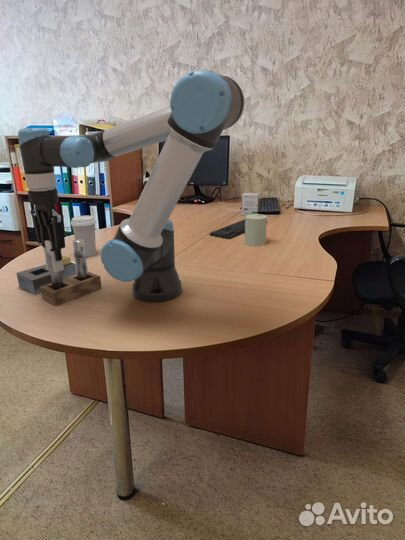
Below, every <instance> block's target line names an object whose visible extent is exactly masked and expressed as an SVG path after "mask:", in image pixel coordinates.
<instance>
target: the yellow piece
mask: <svg viewBox="0 0 405 540" xmlns="http://www.w3.org/2000/svg"><path fill="white" fill-rule="evenodd" d="M62 261H63V267H64V266H67V265H70V264H71V261H72V260H71V257H69V256H67V255H62Z"/></svg>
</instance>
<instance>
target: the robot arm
mask: <svg viewBox="0 0 405 540" xmlns="http://www.w3.org/2000/svg"><path fill="white" fill-rule="evenodd" d="M244 96H245V95H244V92H243V90H242V88H241V86H240V85H239V83H238V82H237V81H235V80H234V79H233V78H231V77H229V76H226V75H222V74H219V73H218V72H215V71H213V70H208V69H206V70H205V69H202V70H201V69H200V70H193V71H190V72H188V73H186V74H185V75H183V76H182V77H181V78H180V79H178V80H177V82H176V83H175V85H174V86H173V89H172V92H171V95H170V100H169V106H167V107H164V108H161V109H158V110H156V111H153V112H150V113H148V114H145V115H142V116H139V117H137V118H134V119H131V120H128V121H126V122H123V123H119V124H117V125H115V126H112V127H109V128H107V129H104V130H101V131H98V132H95V133H92V134H91V133H90V134H82V135H80V134H79V135H66V136H65V135H64V136H51V135H50V134H49V130H48V129H47V128H45V127H44V128H43V127H37V128H36V127H35V128H33V127H32V128H31V127H30V128H29V127H27V128H26V127H25V128H20V129H19V130H18V132H17V135H18V136H17V137H18V148H19V151H20V155H21V160H22V161H21V163H22V166H23V173H24V179H25V180H24V181H25V185H26V189H28V190H27V194H28V195H27V196H28V202H29V204H30V205H31V206H34V209H31V210H30V214H31V218H32V221H33V226H34V230H35V231H34V232H35V236H36V241H37V243H38V245H39V244H40V245H41V247H42V248H43V252H44V259H45V264H46V266H47V269H49V264H48V258H47V252H46V246H45V240H46V239H49V238H50V242H51V246H52V249H50V251H51V256H52V262H53V268H54V272H58V271H61V270H64V267H63V261H62V256H63V255H62V249H64V248H66V239H65V230H64V215H63V214H62V213H61V214H59V213H58V211H57V208H56V204H57V203H58V202H59V193H58V189H57V182H56V177H57V176H56V174H55V167H61V168H62V167H63V168H73V169H79V168H86V167H87V168H88V167H89V166H90V165H91V164H95V163H100V162H101V163H103V162H108V161H111V160H112V159H114V158H115V157H119V156H123V155H125V154H127V153H128V154H129V153H132V152H134V151H138V150H141V149H144V148H147V147H150V146H152V145H153V146H154V145H156V144H159V143H162V142H165V143H164V145H163V146H162V149H161V151H160V153H159V155H158V157H157V160H156V162H155V164H154V165H153V167H152V169H151V172H150V174H149V177H148V178H147V181H146V183H145V185H144V188H143V190H142V192H141V193H140V196H139V199H138V200H137V202H136V204H135V206H134V209H133V210H132V213H131V215H130V217H129V218H125V219H123V220H122V221H121V222H120V223H119V226H118V228H117V230H116V232H115V235H114V236H113V238H112V239H109V240H108V241H106V243H105V244H104V245H102V248H101V251H100V261H101V264H102V265H103V268H104V269H105V271H106V272H107V273H108V274H109V276H111V277H112V278H113V279H115V280H117V281H119V282H123V283H126V282H127V283H129V282H133V283H132V289H131V290H132V295H133V296H134V297H135V298H136V299H138V300H140V301H144V302H150V303H151V302H163V301H164V302H165V301H169V300H172V299H175V298H176V297H178V296H179V295H180V294H181V293H182V291H183V290H182V289H183V288H182V287H183V286H182V285H183V284H182V281H181V280H180V276H179V274H178V272H177V268H176V259H175V258H176V257H175V254H176V253H175V234H174V233H175V230H174V223H173V221H172V220H171V219H169V218H170V216H171V215H172V213H173V211H174V209H175V208H176V206H177V204H178V202H179V200H180V198H181V196H182V194H183V192H184V190H185V189H186V186H187V185H188V182H189V181H190V179H191V178H192V176H193V173H194V171H195V170H196V168H197V165H198V164H199V163H200V161H201V159H202V156H203V154H204V153H206V152H208V151H211V150H214V148H215V147H216V144H217V142H218V141H219V139H220V137H221V135H222V133H223V131H224V130H227V129H229V128H231V127H233V126H234V125H235V124H237V122H239V120H240V118H241V117H242V115H243V112H244V109H245V97H244Z"/></svg>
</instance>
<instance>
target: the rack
mask: <svg viewBox="0 0 405 540" xmlns="http://www.w3.org/2000/svg"><path fill="white" fill-rule="evenodd" d="M63 284H64V287H63V288H61V289H58V290H54V289H53V288H52V283H50V284H47V285H44V286H41V287H40V290H41V293H40V295H41V299H42V300H44V301H45V302H47V303H49V304H51V305H53V306H55V307H56V306H60V305H61V304H64V303H66V302H69V301H72V300H73V299H76V298H79V297H83V296H85V295H87V294H89V293H92V292H94V291H97V290H99V289H102V280H101V275H99V274H95V273H93V272H90V271H88V279H86V280H83V281H79V280H78V276H77V273H76V275H73V276H70V277H68V278H65V279H63Z"/></svg>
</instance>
